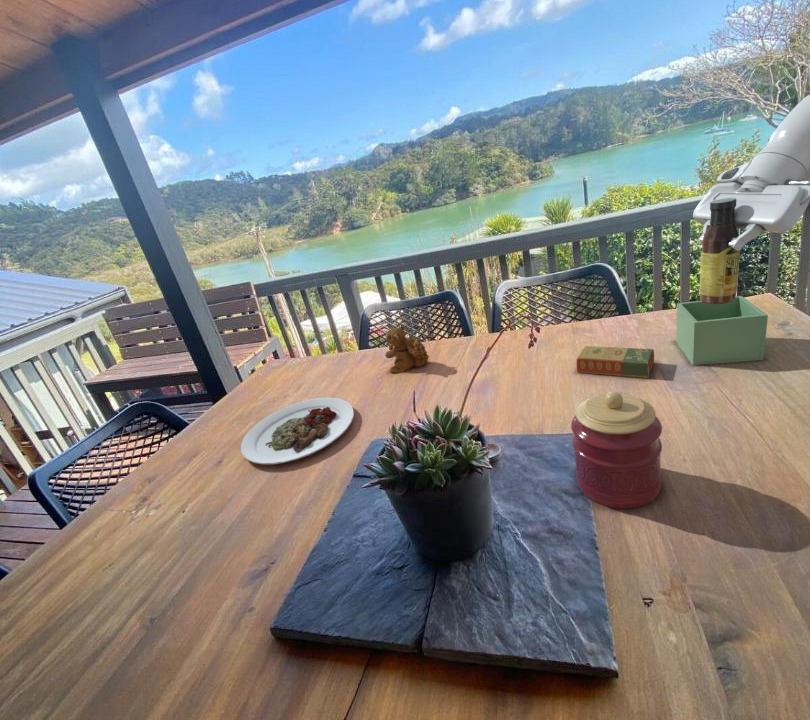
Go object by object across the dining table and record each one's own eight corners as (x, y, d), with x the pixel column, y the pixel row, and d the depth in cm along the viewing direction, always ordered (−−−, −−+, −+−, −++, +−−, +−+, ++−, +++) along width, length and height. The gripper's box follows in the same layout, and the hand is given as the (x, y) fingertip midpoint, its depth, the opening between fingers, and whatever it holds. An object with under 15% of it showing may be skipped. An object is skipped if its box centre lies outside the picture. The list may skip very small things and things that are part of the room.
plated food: (218, 465, 108) (213, 455, 107) (288, 403, 133) (284, 393, 132) (317, 473, 96) (312, 461, 95) (373, 402, 121) (370, 392, 119)
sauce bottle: (730, 306, 85) (737, 202, 77) (694, 304, 90) (697, 206, 82) (741, 295, 89) (748, 194, 81) (705, 293, 94) (709, 198, 86)
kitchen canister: (678, 481, 71) (680, 387, 64) (630, 524, 65) (627, 426, 59) (606, 450, 82) (602, 366, 75) (560, 484, 76) (550, 397, 69)
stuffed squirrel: (399, 359, 145) (389, 322, 140) (437, 358, 138) (429, 320, 133) (384, 373, 137) (374, 335, 132) (424, 373, 130) (415, 333, 125)
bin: (738, 336, 108) (741, 295, 104) (763, 360, 97) (768, 315, 93) (676, 342, 113) (676, 303, 109) (692, 365, 101) (694, 322, 97)
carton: (586, 359, 116) (585, 344, 114) (654, 363, 106) (654, 347, 104) (577, 373, 110) (575, 358, 108) (648, 379, 100) (648, 362, 99)
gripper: (835, 190, 73) (775, 262, 76) (733, 189, 92) (689, 247, 95) (814, 169, 71) (753, 244, 75) (714, 172, 90) (670, 232, 93)
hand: (716, 246), depth 85 cm, fingers closed on sauce bottle, 6 cm apart
